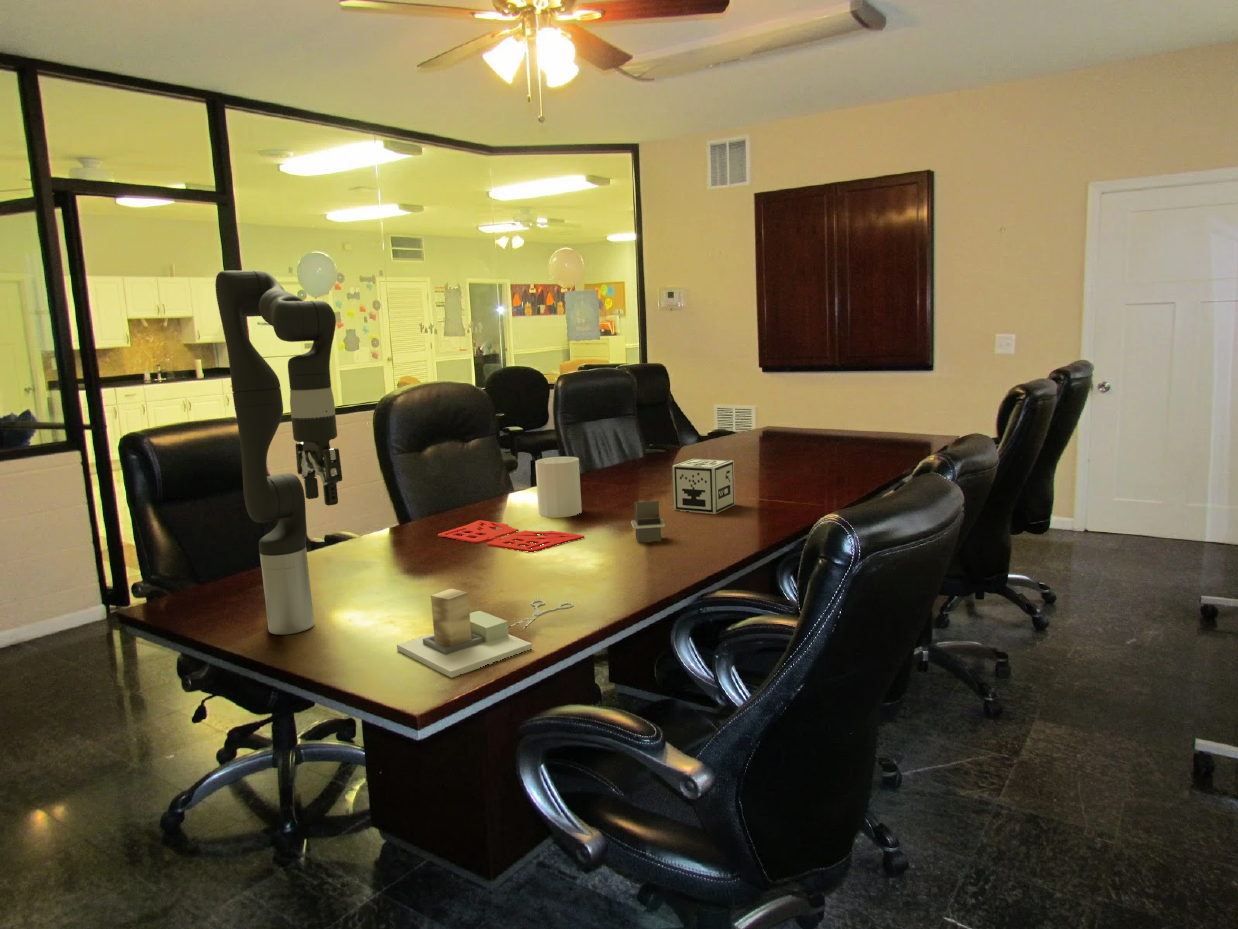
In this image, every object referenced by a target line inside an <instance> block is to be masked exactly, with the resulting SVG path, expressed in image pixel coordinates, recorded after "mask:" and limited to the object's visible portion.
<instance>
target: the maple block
mask: <svg viewBox="0 0 1238 929" xmlns="http://www.w3.org/2000/svg"><path fill="white" fill-rule="evenodd" d="M430 600H431V614H432V623H433V624H432V625H433V633H434V639H435V642H436V643H438V644H441V645H443V646H445V647H450V646H454V645H457V644H460V643H463V642H466V641H469V640H472V639H471V626H470V613H471V612H470V601H469V592H468V591H464V590H459V589H454V588H448V589H445V590H443V591H440V592H437V593H434V594H431V595H430Z"/></svg>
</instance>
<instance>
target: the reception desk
mask: <svg viewBox="0 0 1238 929" xmlns="http://www.w3.org/2000/svg"><path fill="white" fill-rule="evenodd" d="M659 502H660V501H659V500H649V501H634V517H635V518H634V520H631V521H630V523H631V526H632V528H633V529H634V530H635V539H636V538H637V543H638V542H644V543H650V542H649V541H659V542H662V528H664V527H665V526H666V523H665V520H664V518H661V517H662V516H661V515H660V505H659V504H660V503H659Z"/></svg>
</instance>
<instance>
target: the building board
mask: <svg viewBox="0 0 1238 929" xmlns="http://www.w3.org/2000/svg"><path fill="white" fill-rule="evenodd" d="M508 635H509V636H506V637H503V638H500V639H497V640H494V641H491V642H488V643H487V642H485V641H484V637H482V636H480V635H478V634H475V633H473V632H471V639H472V640H469V641H466V642H463V643H460V644H457V645H454V646H450V647H445V646H443V645H441V644H438V643H436V642H435V639H434V632H433V633H430V634H426V635H423V636H420V637H417V638H413V639H411V640H407V641H404V642H401V643H397V644H396V651H398V652H400V653H402V654H404V655H406V656H407V657H410V658H411V659H414V660H415V661H417V662H420V663H421V664H424V665H425V666H427V667H429V668H431V669H433V670H435V671H437V672H439V673H440V674H443V675H445V676H447V677H448V678H451V679H452V678H455V677H457V676H461V675H463V674H466V673H469V672H473V671H475V670H477V669H480V667H481V668H484V667H486V666H485V665H487V664H489V665H493V664H494V663H493V662H495V661H498V662H500V660H501V661H503V660H502V659H504V658H506V657H509V658H511V657H510V656H512V657H514V656H513V655H515V654H518V655H520V654H519V653H521V652H523V651H526V650H529V651H531V650H530V649H532V650H533V644H532V643H531V642H529V641H526V640H524V639H522V638H519V637H516V636H514V635H511V634H509V633H508ZM526 652H527V651H526ZM523 653H524V652H523ZM521 654H522V653H521ZM515 656H516V655H515ZM506 659H507V658H506ZM504 660H505V659H504ZM495 663H496V662H495ZM483 666H484V667H483ZM487 666H488V665H487ZM460 674H461V675H460Z"/></svg>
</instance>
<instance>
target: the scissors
mask: <svg viewBox="0 0 1238 929" xmlns="http://www.w3.org/2000/svg"><path fill="white" fill-rule="evenodd" d="M534 602H535V603H534ZM533 603H534V604H533ZM536 603H538V604H536ZM568 604H570V605H569V606H568ZM566 605H567V606H566ZM530 606H531V607H534V606H535V607H534V608H533V609H534V610H535V609H536V610H535V611H534V612H533V613H532V615H531V616H534V617H533V618H530V619H535V620H536V619H537V618H538V617H540V616H542V615H544V614H546V613H550V612H555V611H557V610H565V609H566V610H567V609H570V608H571V609H572V606H573V607H574V604H573V603H572V602H563V603H560V604H557V607H555V608H551V609H546V610H539V607H542V606H545V601H544V600H542V599H540V597H535V600H533V601H531V602H530ZM556 609H557V610H556ZM554 610H555V611H554ZM549 611H550V612H549ZM543 613H544V614H543ZM537 616H538V617H537ZM524 619H529V618H528V617H525V618H524ZM522 620H523V619H521V620H519V621H517V622H515V623H513V624H510V626H511V627H514V626H516V623H519V624H521V623H524V622H525V621H522ZM532 621H533V620H530V621H529V620H527V621H526V624H525V625H524V626H523V628H522V631H523V630H524V629H526V627H525V626H527V627H528V626H529V625H531V623H533V622H534V621H533V622H532ZM527 623H528V624H527Z"/></svg>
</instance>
